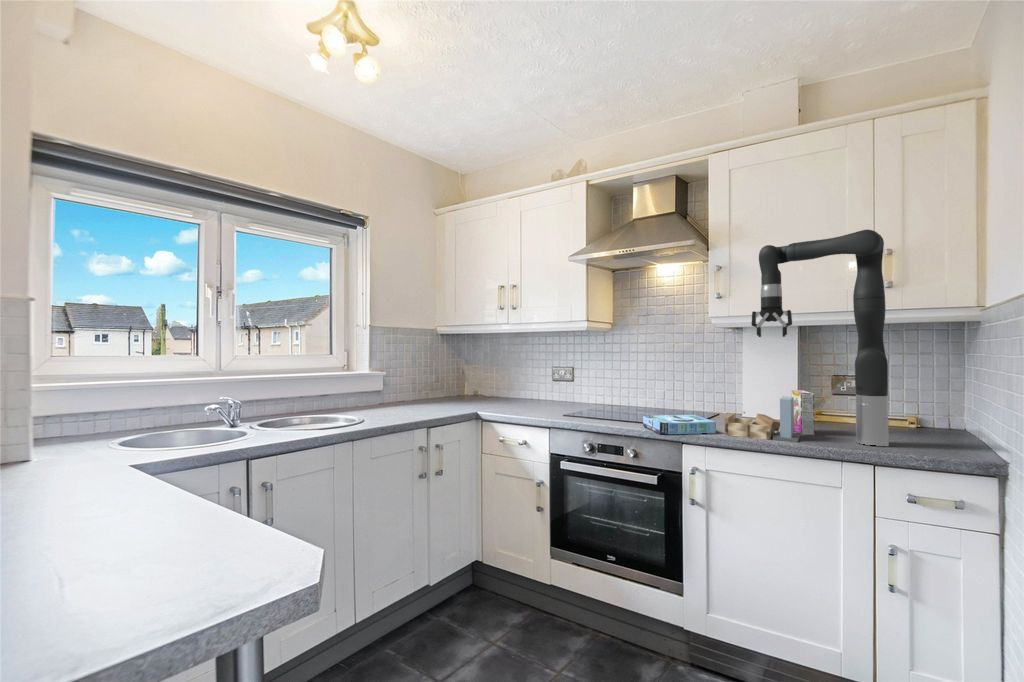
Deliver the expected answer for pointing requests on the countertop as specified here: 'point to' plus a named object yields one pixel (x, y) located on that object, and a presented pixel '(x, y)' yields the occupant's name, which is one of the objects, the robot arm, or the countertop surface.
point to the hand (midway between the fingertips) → (771, 336)
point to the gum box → (679, 424)
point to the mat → (793, 439)
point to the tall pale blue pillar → (786, 417)
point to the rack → (746, 428)
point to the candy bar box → (803, 412)
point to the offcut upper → (767, 422)
